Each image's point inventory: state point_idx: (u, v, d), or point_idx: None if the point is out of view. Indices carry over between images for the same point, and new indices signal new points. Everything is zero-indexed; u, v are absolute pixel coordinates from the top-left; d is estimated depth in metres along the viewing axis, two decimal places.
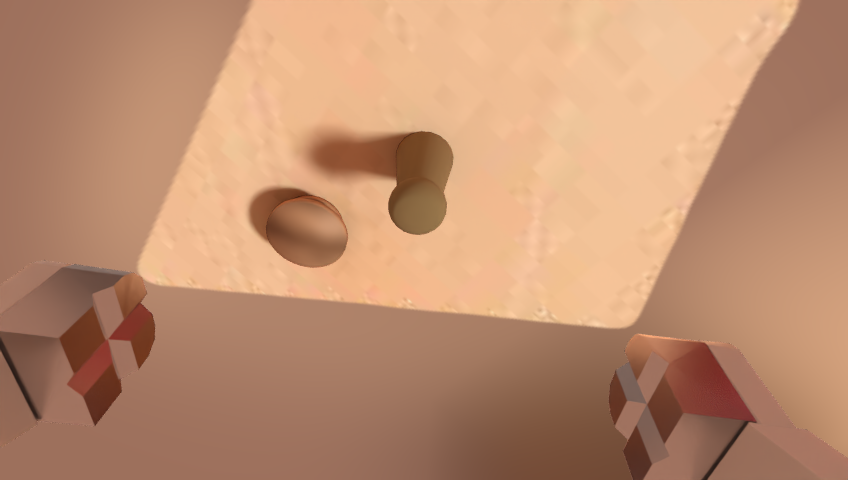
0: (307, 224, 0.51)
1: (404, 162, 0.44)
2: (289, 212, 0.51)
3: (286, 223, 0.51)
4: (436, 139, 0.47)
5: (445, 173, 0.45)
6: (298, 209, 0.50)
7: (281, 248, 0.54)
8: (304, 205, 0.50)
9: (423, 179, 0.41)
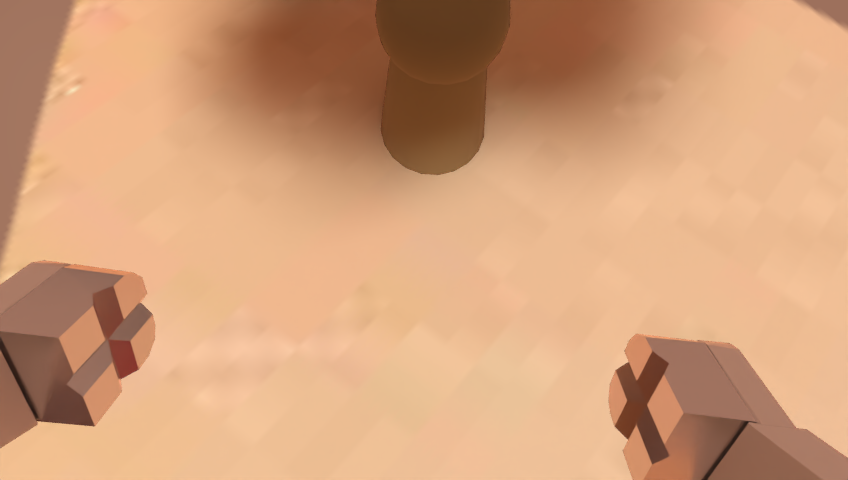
0: None
1: None
2: None
3: None
4: (480, 139, 0.26)
5: (451, 128, 0.22)
6: None
7: None
8: None
9: None
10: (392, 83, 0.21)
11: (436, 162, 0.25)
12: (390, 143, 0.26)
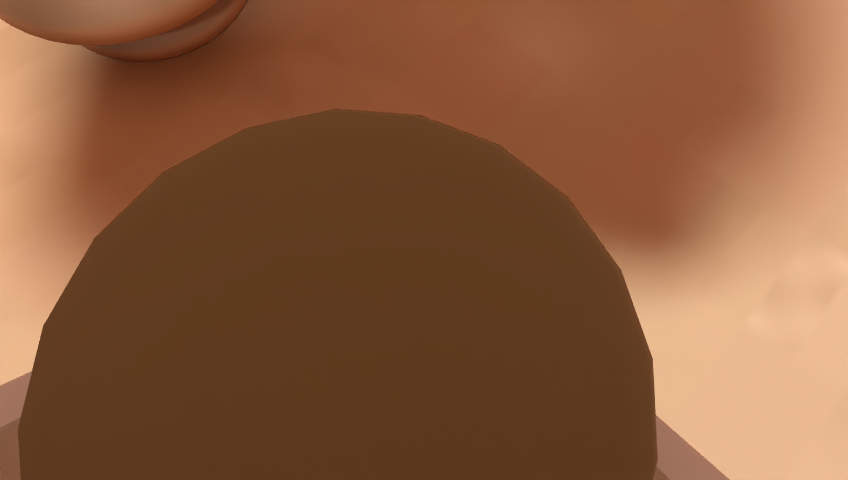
0: None
1: None
2: None
3: None
4: None
5: None
6: None
7: None
8: None
9: None
10: None
11: None
12: None
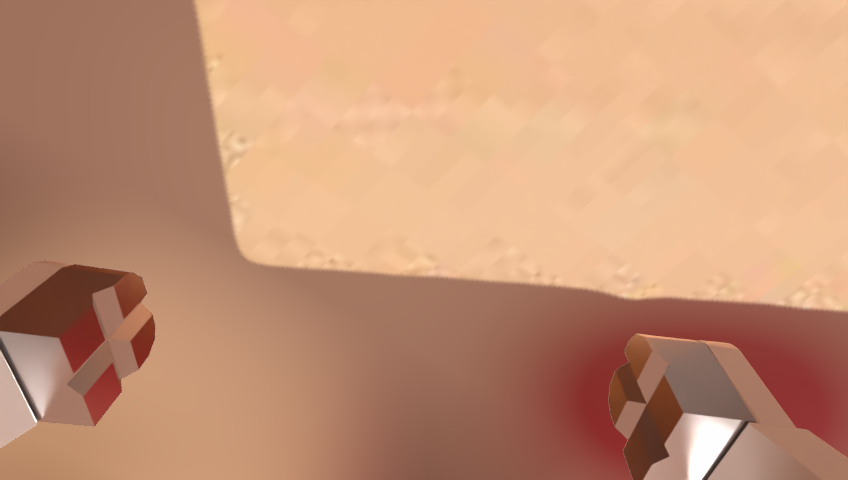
0: None
1: None
2: None
3: None
4: None
5: None
6: None
7: None
8: None
9: None
10: None
11: None
12: None
